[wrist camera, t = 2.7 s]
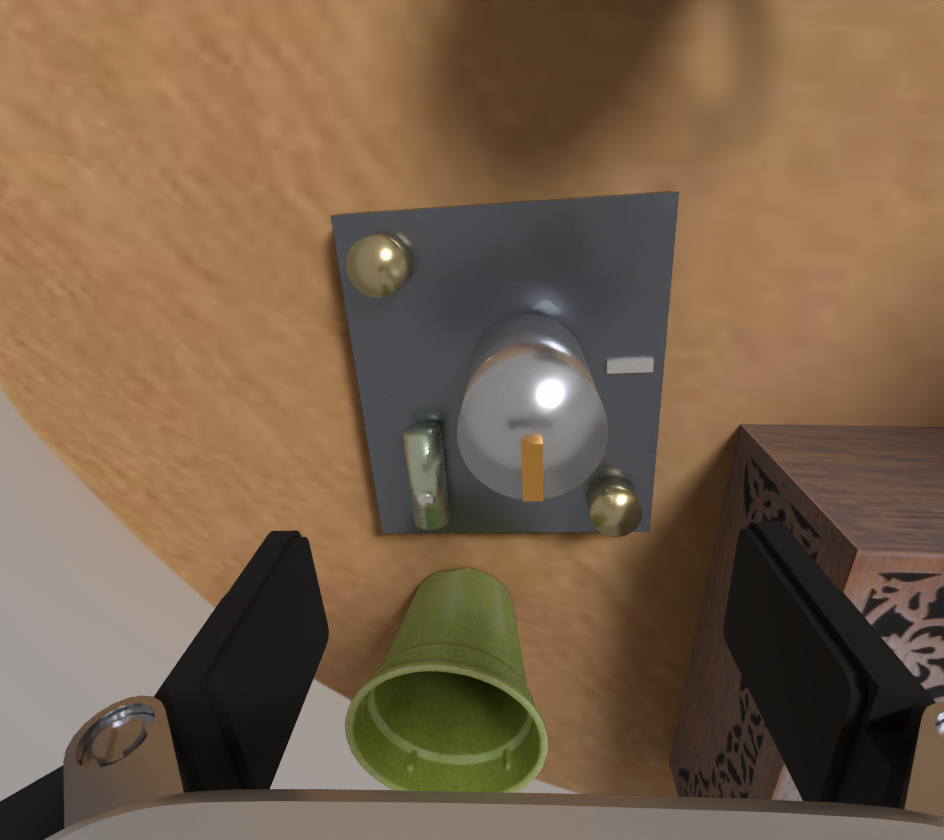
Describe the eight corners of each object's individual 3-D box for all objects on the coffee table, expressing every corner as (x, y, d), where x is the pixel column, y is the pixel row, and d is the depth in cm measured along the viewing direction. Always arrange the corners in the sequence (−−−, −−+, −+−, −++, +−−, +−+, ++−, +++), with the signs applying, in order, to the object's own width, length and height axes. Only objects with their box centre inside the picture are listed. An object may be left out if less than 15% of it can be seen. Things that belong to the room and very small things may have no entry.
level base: (341, 213, 23) (313, 218, 20) (668, 191, 22) (694, 192, 19) (388, 517, 30) (373, 556, 26) (642, 514, 28) (658, 556, 25)
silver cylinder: (469, 316, 23) (449, 371, 16) (584, 311, 23) (613, 365, 16) (476, 420, 25) (461, 507, 18) (582, 417, 25) (607, 505, 18)
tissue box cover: (738, 422, 26) (857, 550, 17) (1054, 426, 25) (1364, 566, 16) (668, 759, 36) (719, 949, 27) (888, 773, 35) (1016, 976, 26)
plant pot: (362, 622, 33) (314, 759, 25) (428, 515, 29) (395, 637, 22) (492, 681, 34) (484, 829, 26) (570, 585, 31) (589, 724, 23)
